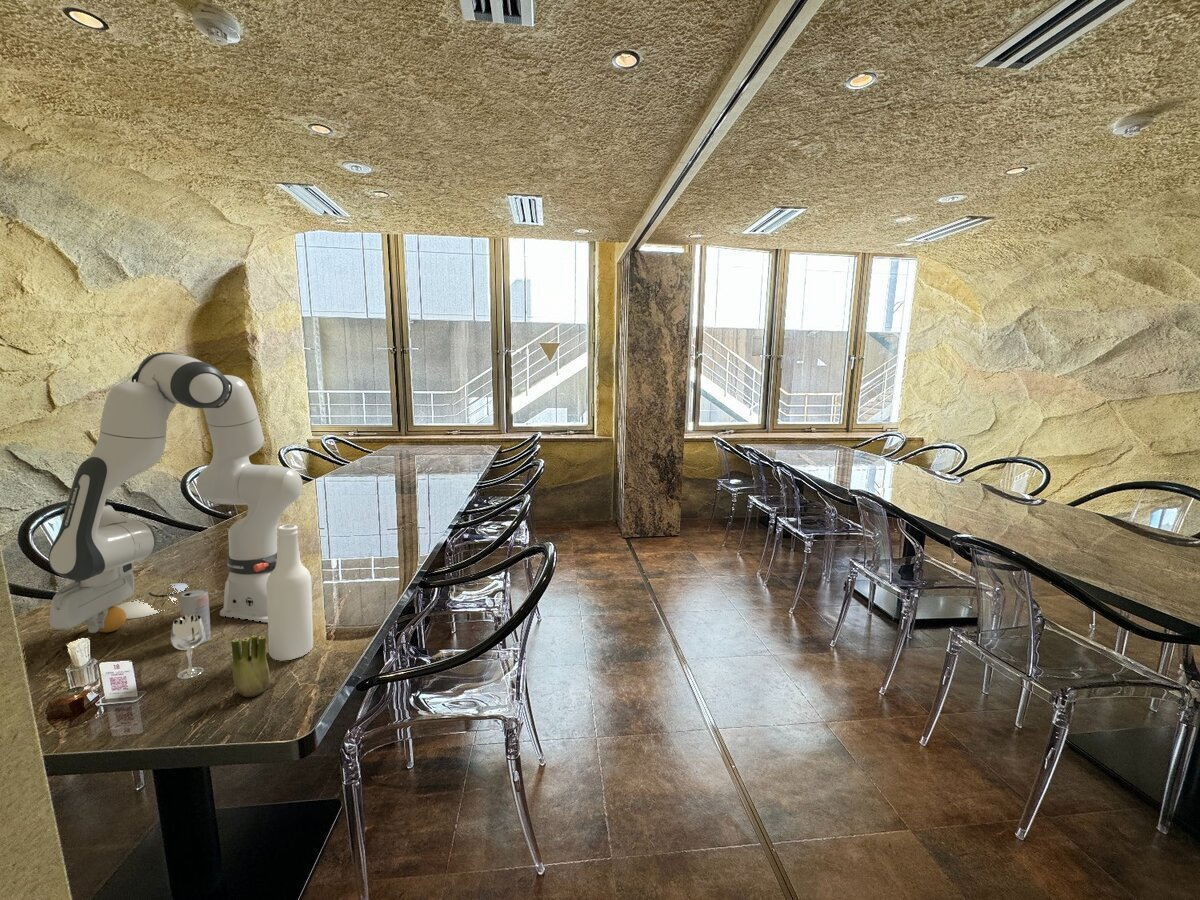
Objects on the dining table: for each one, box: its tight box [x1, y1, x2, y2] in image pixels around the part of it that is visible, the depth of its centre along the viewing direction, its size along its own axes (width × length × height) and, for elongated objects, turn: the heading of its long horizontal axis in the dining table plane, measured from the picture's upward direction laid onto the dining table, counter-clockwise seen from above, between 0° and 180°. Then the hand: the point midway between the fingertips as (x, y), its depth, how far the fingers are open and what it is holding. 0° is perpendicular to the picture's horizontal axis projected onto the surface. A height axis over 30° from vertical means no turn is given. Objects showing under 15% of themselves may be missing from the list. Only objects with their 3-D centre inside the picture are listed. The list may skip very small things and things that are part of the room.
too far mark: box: [167, 582, 190, 596], centre depth 153 cm, size 9×9×1 cm
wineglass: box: [170, 615, 205, 680], centre depth 111 cm, size 6×6×12 cm
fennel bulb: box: [230, 634, 271, 698], centre depth 106 cm, size 6×5×12 cm
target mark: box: [115, 595, 178, 620], centre depth 141 cm, size 14×14×1 cm
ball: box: [98, 605, 127, 633], centre depth 128 cm, size 6×6×6 cm
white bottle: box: [266, 524, 314, 662], centre depth 120 cm, size 9×9×30 cm
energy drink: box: [179, 588, 212, 646], centre depth 125 cm, size 5×5×12 cm
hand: (96, 630), depth 124 cm, fingers closed
